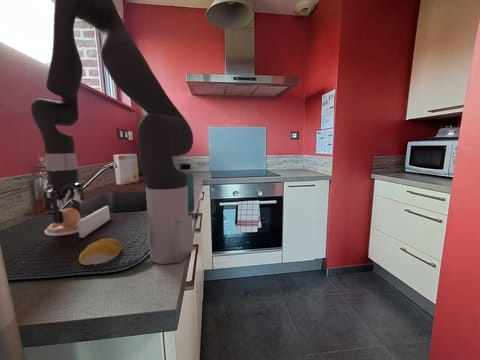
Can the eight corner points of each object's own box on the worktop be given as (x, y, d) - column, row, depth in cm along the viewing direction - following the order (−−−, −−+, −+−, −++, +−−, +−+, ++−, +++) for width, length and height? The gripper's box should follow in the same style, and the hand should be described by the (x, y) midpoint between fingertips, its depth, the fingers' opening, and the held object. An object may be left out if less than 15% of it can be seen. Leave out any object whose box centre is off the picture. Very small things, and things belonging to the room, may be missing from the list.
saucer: (100, 223, 73) (100, 219, 73) (64, 237, 62) (63, 232, 62) (74, 220, 76) (73, 216, 76) (34, 233, 65) (33, 228, 65)
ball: (85, 224, 71) (83, 206, 70) (66, 230, 65) (64, 212, 64) (72, 222, 73) (70, 205, 72) (52, 228, 67) (50, 210, 66)
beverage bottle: (182, 211, 88) (180, 162, 85) (197, 212, 86) (196, 163, 83) (174, 216, 81) (172, 164, 78) (190, 217, 80) (189, 164, 77)
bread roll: (125, 247, 57) (124, 232, 56) (114, 264, 48) (112, 248, 48) (90, 250, 55) (89, 235, 55) (72, 269, 47) (70, 251, 46)
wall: (107, 219, 78) (105, 206, 77) (109, 219, 78) (108, 205, 77) (79, 237, 62) (77, 221, 61) (83, 237, 62) (81, 221, 61)
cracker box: (133, 181, 160) (131, 153, 157) (139, 182, 158) (137, 154, 154) (115, 184, 148) (113, 154, 145) (121, 185, 145) (118, 154, 142)
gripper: (65, 166, 73) (70, 212, 75) (29, 170, 59) (37, 227, 61) (88, 166, 74) (93, 211, 76) (59, 170, 60) (66, 226, 62)
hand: (68, 218), depth 69 cm, fingers open, 8 cm apart
